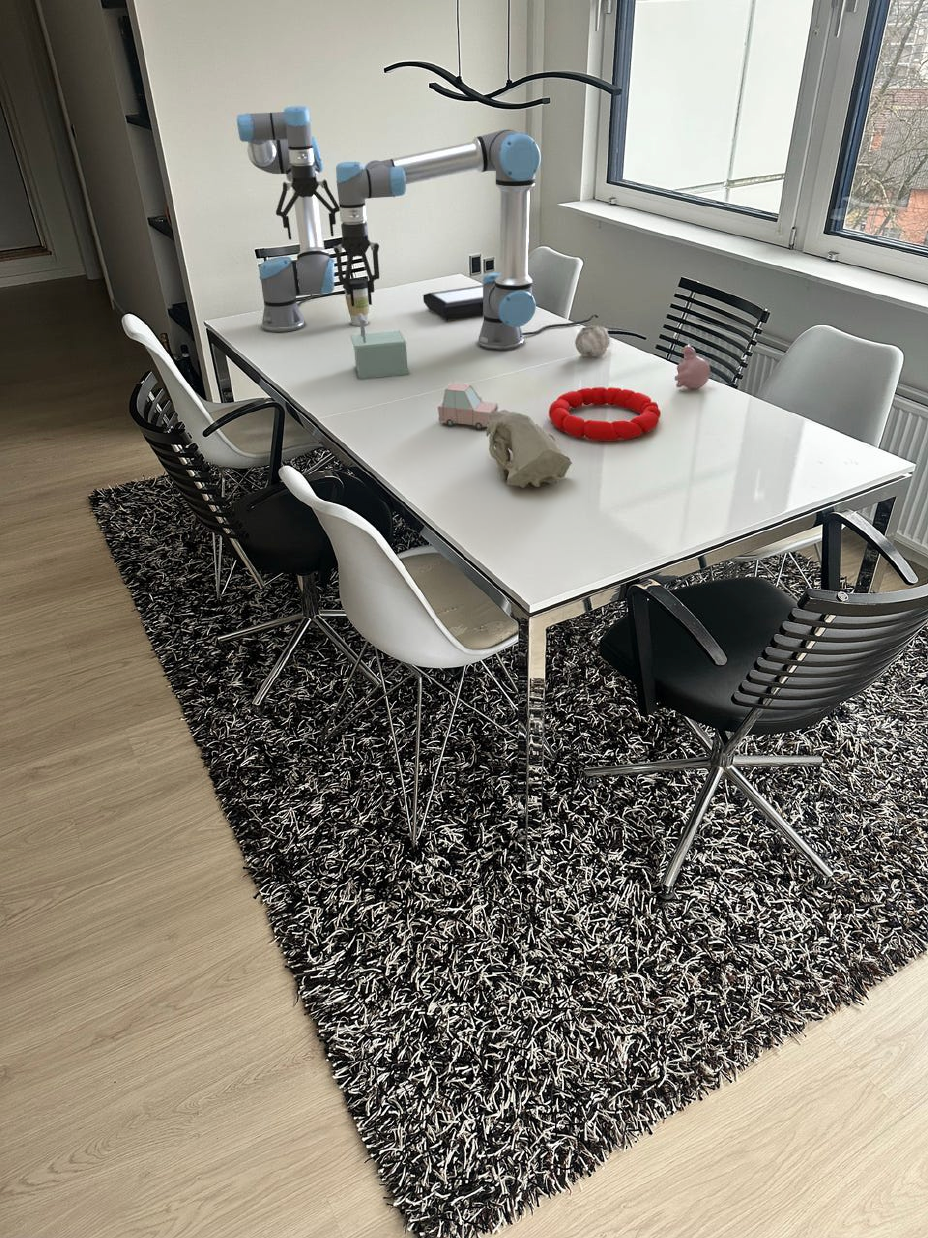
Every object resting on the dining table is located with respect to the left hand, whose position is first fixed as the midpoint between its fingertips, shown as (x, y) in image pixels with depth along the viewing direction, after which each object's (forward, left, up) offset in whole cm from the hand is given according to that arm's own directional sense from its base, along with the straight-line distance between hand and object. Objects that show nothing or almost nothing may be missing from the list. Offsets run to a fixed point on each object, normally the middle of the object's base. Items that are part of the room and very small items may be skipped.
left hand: (311, 237), depth 288 cm
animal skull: (+114, +43, -35) cm, 127 cm away
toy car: (+82, +36, -35) cm, 96 cm away
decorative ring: (+90, +72, -35) cm, 120 cm away
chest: (+32, +17, -35) cm, 50 cm away
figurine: (+72, +104, -35) cm, 131 cm away
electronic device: (-27, +58, -35) cm, 72 cm away
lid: (+32, +16, -25) cm, 44 cm away
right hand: (+32, +12, -14) cm, 37 cm away
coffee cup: (-22, +14, -35) cm, 44 cm away
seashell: (+36, +86, -35) cm, 99 cm away
